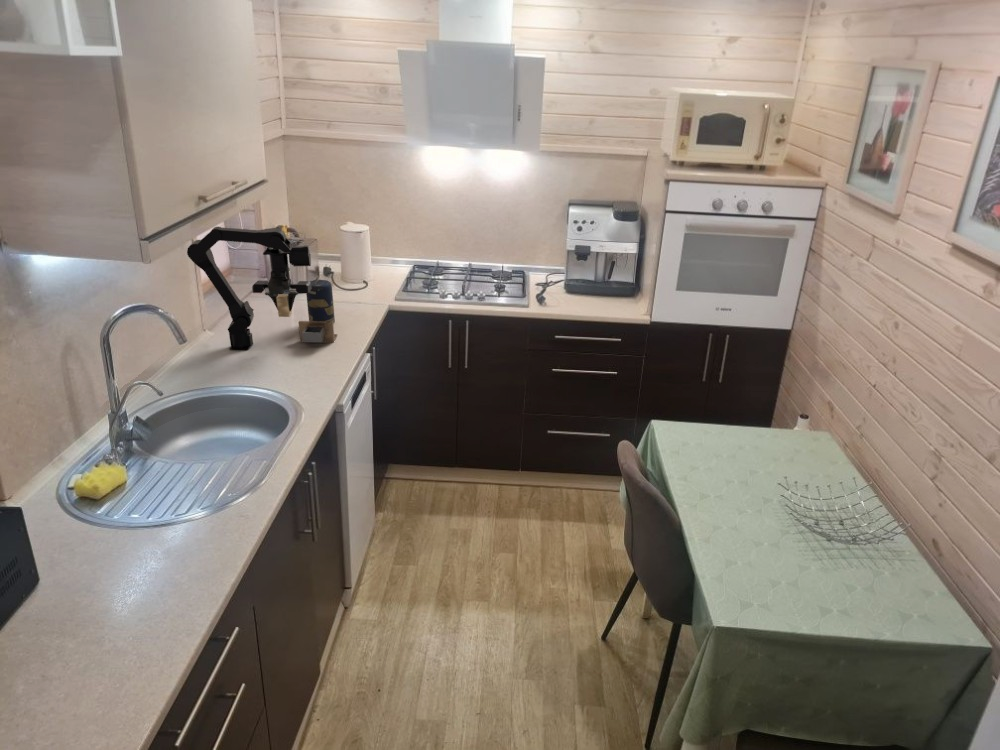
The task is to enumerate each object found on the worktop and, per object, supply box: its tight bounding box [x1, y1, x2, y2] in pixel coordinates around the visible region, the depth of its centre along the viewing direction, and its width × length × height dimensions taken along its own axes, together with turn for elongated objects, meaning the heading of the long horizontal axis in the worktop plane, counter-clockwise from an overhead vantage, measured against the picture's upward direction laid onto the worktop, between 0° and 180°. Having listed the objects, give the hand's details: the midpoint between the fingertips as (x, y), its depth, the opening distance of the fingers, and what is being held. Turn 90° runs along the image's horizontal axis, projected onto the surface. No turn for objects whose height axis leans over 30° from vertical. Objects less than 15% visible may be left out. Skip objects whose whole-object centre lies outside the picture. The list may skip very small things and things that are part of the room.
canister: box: [305, 278, 336, 325], centre depth 263 cm, size 10×10×18 cm
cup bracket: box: [298, 320, 338, 343], centre depth 249 cm, size 12×13×8 cm
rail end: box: [276, 293, 293, 318], centre depth 242 cm, size 4×4×7 cm
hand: (284, 310), depth 242 cm, fingers closed on rail end, 4 cm apart
